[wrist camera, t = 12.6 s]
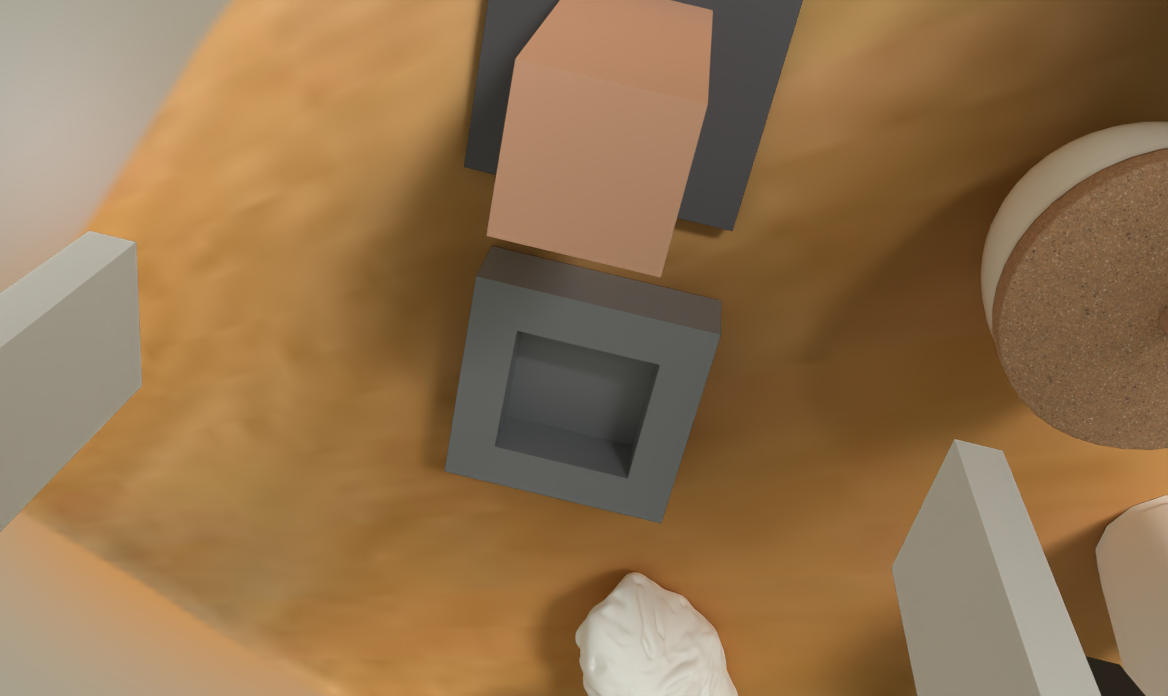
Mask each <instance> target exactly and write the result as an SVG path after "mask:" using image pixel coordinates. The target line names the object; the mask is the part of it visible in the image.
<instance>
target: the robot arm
mask: <svg viewBox="0 0 1168 696" xmlns="http://www.w3.org/2000/svg"><path fill="white" fill-rule="evenodd" d="M141 387H142V372H141V348H140V323H139V298H138V273H137V248H136V242H134V241H130V240H125V239H121V238H117V237H113V236H109V235H105V234H101V233H96V232H92V231H88V232H86V233H85V234H84V235H82V236H81V237H79V238H78V239H76V240H75V241H74V242H72V243H71V244H69V245H68V246H67V247H65V248H64V249H62V250H61V251H59V252H58V253H57V254H55V255H54V256H52V257H51V258H50V259H48V260H47V261H45V262H44V263H42V264H41V265H40V266H38V267H37V268H35V269H34V270H32V271H31V272H30V273H28V274H27V275H25V276H24V277H22V278H21V279H20V280H18V281H17V282H15V283H14V284H12V285H11V286H10V287H8V288H7V289H5V290H4V291H3V292H1V293H0V532H1V531H2V530H3V529H4V527H5V526H6V525H7V524H8V523H9V522H10V521H11V520H12V519H13V518H14V517H15V516H16V515H17V514H18V513H19V512H20V511H21V510H22V509H23V508H24V507H25V506H26V505H27V504H28V503H29V502H30V501H31V500H32V499H33V498H34V497H35V496H36V495H37V494H38V493H39V491H40V490H41V489H42V488H43V487H44V486H45V485H46V484H47V483H48V482H49V481H50V480H51V479H52V478H53V477H54V476H55V475H56V474H57V473H58V472H59V471H60V470H61V469H62V468H63V467H64V466H65V465H66V464H67V463H68V462H69V461H70V460H71V459H72V458H73V456H74V455H75V454H76V453H77V452H78V451H79V450H80V449H81V448H82V447H83V446H84V445H85V444H86V443H87V442H88V441H89V440H90V439H91V438H92V437H93V436H94V435H95V434H96V433H97V432H98V431H99V430H100V429H101V428H102V427H103V426H104V425H105V424H106V423H107V422H108V420H109V419H110V418H111V417H112V416H113V415H114V414H115V413H116V412H117V411H118V410H119V409H120V408H121V407H122V406H123V405H124V404H125V403H126V402H127V401H128V400H129V399H130V398H131V397H132V396H133V395H134V394H135V393H136V392H137V391H138V390H139V389H140V388H141ZM892 572H893V577H894V582H895V587H896V592H897V597H898V602H899V607H900V612H901V617H902V622H903V627H904V632H905V637H906V642H907V647H908V652H909V657H910V662H911V667H912V672H913V677H914V682H915V687H916V692H917V696H1145V694H1144V693H1143V692H1142V691H1141V690H1140V688H1139V687H1138V686H1137V685H1136V684H1135V682H1134V681H1133V680H1132V679H1131V678H1130V677H1129V675H1128V674H1127V673H1126V672H1125V671H1124V669H1123V668H1122V667H1121V666H1120V665H1119V664H1115V663H1111V662H1106V661H1102V660H1098V659H1094V658H1090V657H1086V656H1085V654H1084V652H1083V649H1082V647H1081V644H1080V642H1079V639H1078V637H1077V634H1076V632H1075V629H1074V627H1073V624H1072V622H1071V619H1070V617H1069V614H1068V612H1067V609H1066V607H1065V604H1064V602H1063V599H1062V597H1061V594H1060V592H1059V589H1058V587H1057V584H1056V582H1055V579H1054V577H1053V574H1052V572H1051V569H1050V567H1049V564H1048V562H1047V559H1046V557H1045V555H1044V552H1043V550H1042V547H1041V545H1040V542H1039V540H1038V537H1037V535H1036V532H1035V530H1034V527H1033V525H1032V522H1031V520H1030V517H1029V515H1028V512H1027V510H1026V507H1025V505H1024V502H1023V500H1022V497H1021V495H1020V492H1019V490H1018V487H1017V485H1016V482H1015V480H1014V477H1013V475H1012V472H1011V470H1010V467H1009V465H1008V462H1007V460H1006V457H1005V455H1004V453H1003V451H1002V450H998V449H994V448H990V447H985V446H981V445H977V444H973V443H969V442H965V441H960V440H956V439H954V441H953V443H952V445H951V447H950V449H949V451H948V453H947V455H946V457H945V460H944V462H943V464H942V466H941V468H940V470H939V472H938V474H937V476H936V478H935V480H934V482H933V484H932V486H931V488H930V490H929V492H928V494H927V496H926V498H925V500H924V502H923V504H922V506H921V509H920V511H919V513H918V515H917V517H916V519H915V521H914V523H913V525H912V527H911V529H910V531H909V533H908V535H907V537H906V539H905V541H904V543H903V545H902V547H901V549H900V551H899V553H898V555H897V558H896V560H895V562H894V564H893V566H892Z"/></svg>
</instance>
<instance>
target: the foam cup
mask: <svg viewBox="0 0 1168 696" xmlns="http://www.w3.org/2000/svg"><path fill="white" fill-rule="evenodd" d="M1095 551H1096V559H1097V567H1098V573H1099V575H1100V582H1101V586H1102V590H1103V594H1104V597H1105V601H1106V605H1107V609H1108V612H1109V616H1110V620H1111V624H1112V628H1113V631H1114V635H1115V639H1116V643H1117V646H1118V650H1119V654H1120V658H1121V662H1122V665H1123V669H1124V671H1125V672H1126V673H1127V674H1128V675H1129V677H1130V678H1131V679H1132V680H1133V681H1134V682H1135V684H1136V685H1137V686H1138V687H1139V688H1140V690H1141V691H1142V692H1143V693H1144V694H1145V696H1168V495H1165V496H1162V497H1159V498H1156V499H1153V500H1150V501H1147V502H1144V503H1141V504H1138V505H1135V506H1132V507H1131V508H1129V509H1128V510H1127V511H1126V512H1124V513H1123V514H1122V515H1120V516H1119V517H1118V518H1116V519H1115V520H1114V521H1113V522H1111V523H1110V524H1109V525H1107V527H1106V529H1105V531H1104V533H1103V535H1102V537H1101V539H1100V541H1099V543H1098V545H1097V547H1096V549H1095Z"/></svg>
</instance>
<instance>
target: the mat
mask: <svg viewBox="0 0 1168 696" xmlns="http://www.w3.org/2000/svg"><path fill="white" fill-rule="evenodd" d="M559 1H560V0H488V7H487V14H486V20H485V27H484V34H483V41H482V48H481V55H480V62H479V68H478V75H477V82H476V89H475V96H474V103H473V109H472V116H471V123H470V130H469V137H468V144H467V151H466V157H465V164H464V167H466V168H470V169H474V170H478V171H483V172H487V173H491V174H495V175H496V174H497V168H498V162H499V155H500V149H501V143H502V137H503V131H504V125H505V119H506V113H507V107H508V101H509V95H510V89H511V83H512V77H513V70H514V64H515V59H516V57H517V56H518V55H519V53H520V52H521V51H522V50H523V48H524V47H525V46H526V44H527V43H528V42H529V40H530V39H531V38H532V36H533V35H534V34H535V32H536V31H537V30H538V28H539V27H540V26H541V25H542V23H543V22H544V21H545V19H546V18H547V17H548V15H549V14H550V13H551V11H552V10H553V9H554V7H555V6H556V5H557V3H558V2H559ZM672 1H676V2H680V3H684V4H689V5H693V6H697V7H701V8H705V9H710V10H713V19H712V37H711V55H710V73H709V91H708V105H707V109H706V113H705V116H704V120H703V124H702V128H701V131H700V135H699V139H698V142H697V146H696V150H695V153H694V157H693V161H692V164H691V168H690V172H689V175H688V179H687V183H686V187H685V190H684V194H683V198H682V201H681V205H680V209H679V212H678V216H677V218H680V219H684V220H688V221H692V222H697V223H701V224H705V225H709V226H713V227H717V228H722V229H726V230H730V231H733V228H734V225H735V221H736V218H737V215H738V212H739V208H740V205H741V202H742V198H743V195H744V192H745V189H746V185H747V182H748V179H749V175H750V172H751V169H752V166H753V162H754V159H755V156H756V153H757V149H758V146H759V143H760V139H761V136H762V133H763V130H764V126H765V123H766V120H767V116H768V113H769V110H770V107H771V103H772V100H773V97H774V93H775V90H776V87H777V84H778V80H779V77H780V74H781V71H782V67H783V64H784V61H785V57H786V54H787V51H788V48H789V44H790V41H791V38H792V34H793V31H794V28H795V25H796V21H797V18H798V15H799V11H800V8H801V5H802V2H803V0H672Z"/></svg>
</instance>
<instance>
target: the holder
mask: <svg viewBox="0 0 1168 696" xmlns="http://www.w3.org/2000/svg"><path fill="white" fill-rule="evenodd" d="M720 336H721V301H720V300H716V299H712V298H708V297H703V296H699V295H695V294H691V293H687V292H682V291H678V290H674V289H670V288H666V287H662V286H657V285H653V284H649V283H645V282H641V281H636V280H632V279H628V278H624V277H620V276H616V275H611V274H607V273H603V272H599V271H595V270H590V269H586V268H582V267H578V266H574V265H569V264H565V263H561V262H557V261H553V260H549V259H544V258H540V257H536V256H532V255H528V254H523V253H519V252H515V251H511V250H507V249H503V248H498V247H494V246H491V248H490V250H489V252H488V254H487V256H486V258H485V260H484V262H483V264H482V266H481V268H480V270H479V272H478V274H477V276H476V280H475V287H474V293H473V299H472V305H471V311H470V317H469V324H468V330H467V336H466V342H465V348H464V354H463V360H462V367H461V373H460V379H459V385H458V391H457V397H456V404H455V410H454V416H453V422H452V428H451V434H450V440H449V447H448V453H447V459H446V465H445V472H449V473H453V474H458V475H462V476H466V477H470V478H474V479H478V480H483V481H487V482H491V483H495V484H499V485H503V486H508V487H512V488H516V489H520V490H524V491H528V492H533V493H537V494H541V495H545V496H549V497H553V498H557V499H562V500H566V501H570V502H574V503H578V504H582V505H587V506H591V507H595V508H599V509H603V510H607V511H612V512H616V513H620V514H624V515H628V516H632V517H636V518H641V519H645V520H649V521H653V522H657V523H662V519H663V516H664V513H665V510H666V507H667V504H668V501H669V497H670V494H671V491H672V488H673V485H674V482H675V478H676V475H677V472H678V469H679V466H680V463H681V460H682V456H683V453H684V450H685V447H686V444H687V441H688V437H689V434H690V431H691V428H692V425H693V422H694V419H695V415H696V412H697V409H698V406H699V403H700V400H701V396H702V393H703V390H704V387H705V384H706V381H707V378H708V374H709V371H710V368H711V365H712V362H713V359H714V355H715V352H716V349H717V346H718V343H719V340H720Z"/></svg>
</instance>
